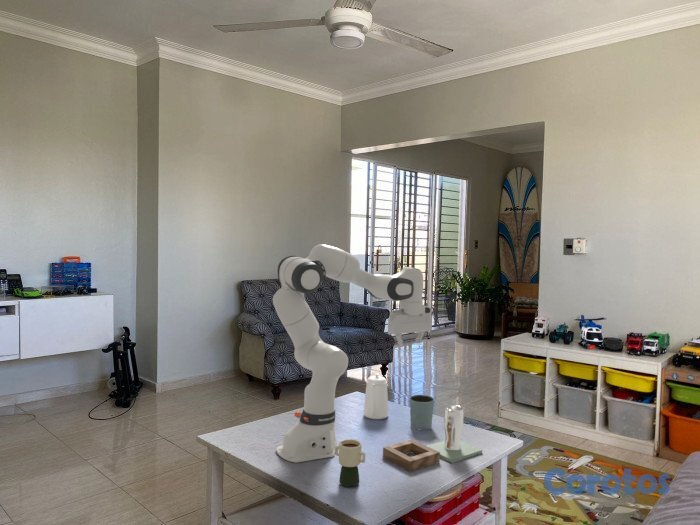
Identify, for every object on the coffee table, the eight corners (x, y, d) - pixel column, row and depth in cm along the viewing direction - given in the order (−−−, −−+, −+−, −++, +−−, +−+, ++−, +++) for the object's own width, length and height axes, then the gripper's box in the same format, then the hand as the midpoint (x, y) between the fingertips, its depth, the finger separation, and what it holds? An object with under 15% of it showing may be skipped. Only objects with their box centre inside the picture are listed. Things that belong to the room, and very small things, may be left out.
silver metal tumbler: (448, 443, 197) (449, 403, 197) (465, 447, 193) (467, 407, 192) (439, 448, 192) (440, 407, 191) (456, 453, 188) (458, 412, 187)
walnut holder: (409, 471, 175) (410, 461, 174) (382, 457, 186) (383, 447, 186) (439, 462, 183) (439, 452, 183) (411, 448, 194) (412, 439, 194)
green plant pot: (432, 423, 222) (433, 395, 222) (434, 431, 212) (435, 402, 212) (408, 422, 223) (409, 394, 222) (409, 430, 213) (410, 401, 212)
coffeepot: (358, 424, 218) (359, 380, 217) (368, 406, 242) (369, 366, 241) (384, 427, 215) (385, 382, 215) (391, 408, 240) (392, 367, 239)
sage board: (451, 463, 182) (451, 459, 182) (423, 449, 193) (423, 446, 193) (482, 453, 192) (482, 450, 192) (453, 440, 203) (453, 437, 203)
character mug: (369, 484, 165) (371, 443, 165) (358, 493, 159) (359, 450, 158) (340, 475, 171) (341, 436, 170) (328, 483, 165) (329, 442, 164)
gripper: (396, 310, 196) (394, 347, 197) (435, 308, 208) (433, 343, 209) (385, 308, 201) (383, 344, 202) (424, 306, 213) (422, 340, 214)
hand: (409, 343), depth 205 cm, fingers open, 8 cm apart
